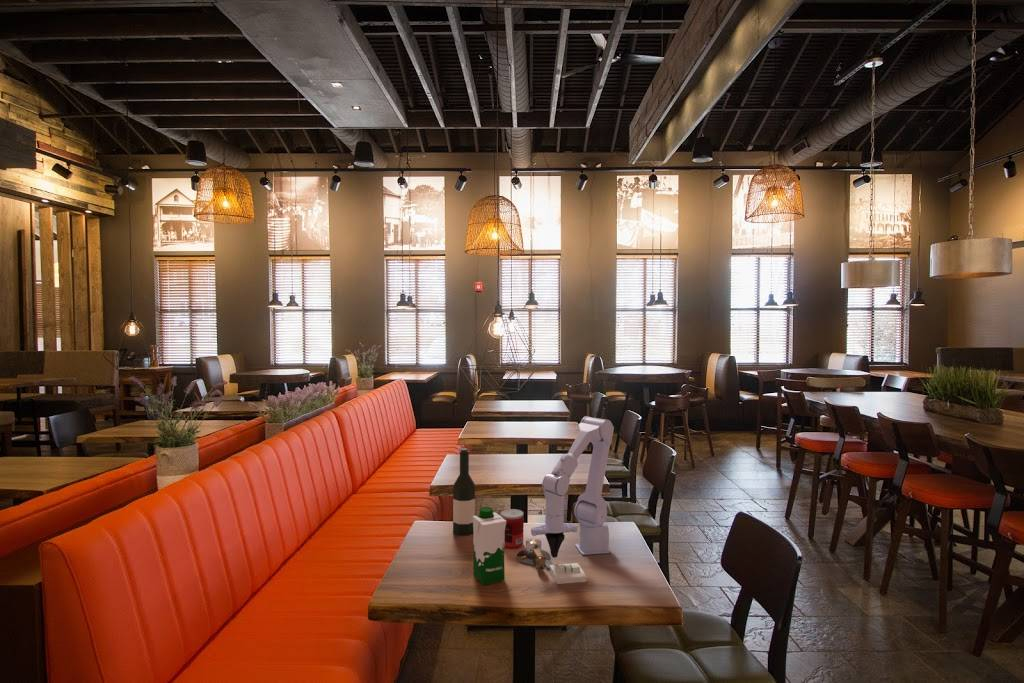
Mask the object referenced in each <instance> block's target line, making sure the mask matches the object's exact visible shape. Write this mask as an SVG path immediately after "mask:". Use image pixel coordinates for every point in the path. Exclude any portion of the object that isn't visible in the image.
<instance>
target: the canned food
mask: <svg viewBox="0 0 1024 683" xmlns="http://www.w3.org/2000/svg"><path fill="white" fill-rule="evenodd" d="M524 515H525V514H524V511H522V510H521V509H517V508H509V509H505V510H503V511H501V513H500V516H501V517H503V519H504V520H506V526H505V542H504V549H507V550H516V549H520V548H522V547H523V546H524V527H525V526H524V522H525V521H524V519H525V517H524Z"/></svg>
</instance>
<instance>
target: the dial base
mask: <svg viewBox="0 0 1024 683" xmlns="http://www.w3.org/2000/svg"><path fill="white" fill-rule="evenodd" d="M541 553H542V555H543V556H544V557H545V569H546V570H547V571H550V570H549V565H554V563H553V561H552V560H551V558H552V556H551V553H549V552H548V551H547V550H544V549H541ZM516 560H517V562H519V563H520V564H523V565H526V566H534V567H535V566H536V567H537V565H536V563H535V561H534V559H531V558H528V557H526V548H525V549H522V550H520V551H518V552H517V553H516Z"/></svg>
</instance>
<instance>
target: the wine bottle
mask: <svg viewBox="0 0 1024 683" xmlns="http://www.w3.org/2000/svg"><path fill="white" fill-rule="evenodd" d="M469 453H470V451H469V450H468V448H465V447H461V448H460V450H459V474H458V475H457V476H458V477H457V478H456V480H455V482H454V483H453V486H452V487H453V488H452V490H453V491H452V494H453V495H452V507H453V508H452V534H453V535H456V536H459V537H464V536H465V537H469V536H471V535H473V516H476V484H475V482H474V480H473V479H472V477H471V475H470V473H469V472H470V468H469V467H470V466H469V465H470V461H469V460H470V454H469Z"/></svg>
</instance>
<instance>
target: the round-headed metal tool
mask: <svg viewBox="0 0 1024 683" xmlns="http://www.w3.org/2000/svg"><path fill="white" fill-rule="evenodd" d="M525 549H526V557H528V558H531V559H534V561H535V563H536V565H537V566H536V570H540V571H543V570H545V569H546V567H545V557H544V556H543V555H542V553H541V550H542V540H540V539H537V538H528V539H527V540H526V541H525Z"/></svg>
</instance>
